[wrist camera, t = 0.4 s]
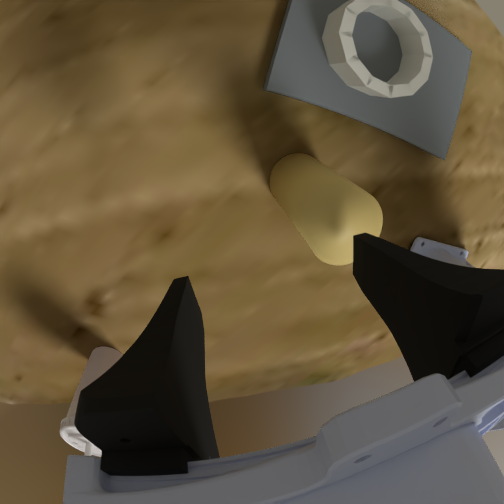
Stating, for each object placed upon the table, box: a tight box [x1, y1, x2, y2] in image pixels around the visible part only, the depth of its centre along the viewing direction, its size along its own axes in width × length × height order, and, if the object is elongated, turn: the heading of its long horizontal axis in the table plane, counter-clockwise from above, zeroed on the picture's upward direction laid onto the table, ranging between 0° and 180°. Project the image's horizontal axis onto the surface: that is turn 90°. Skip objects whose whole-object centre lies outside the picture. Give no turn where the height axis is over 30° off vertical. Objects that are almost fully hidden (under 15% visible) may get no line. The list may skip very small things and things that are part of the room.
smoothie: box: [60, 346, 123, 457], centre depth 20 cm, size 6×6×14 cm
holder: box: [263, 0, 472, 160], centre depth 15 cm, size 16×11×4 cm
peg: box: [269, 153, 383, 265], centre depth 17 cm, size 4×4×8 cm
